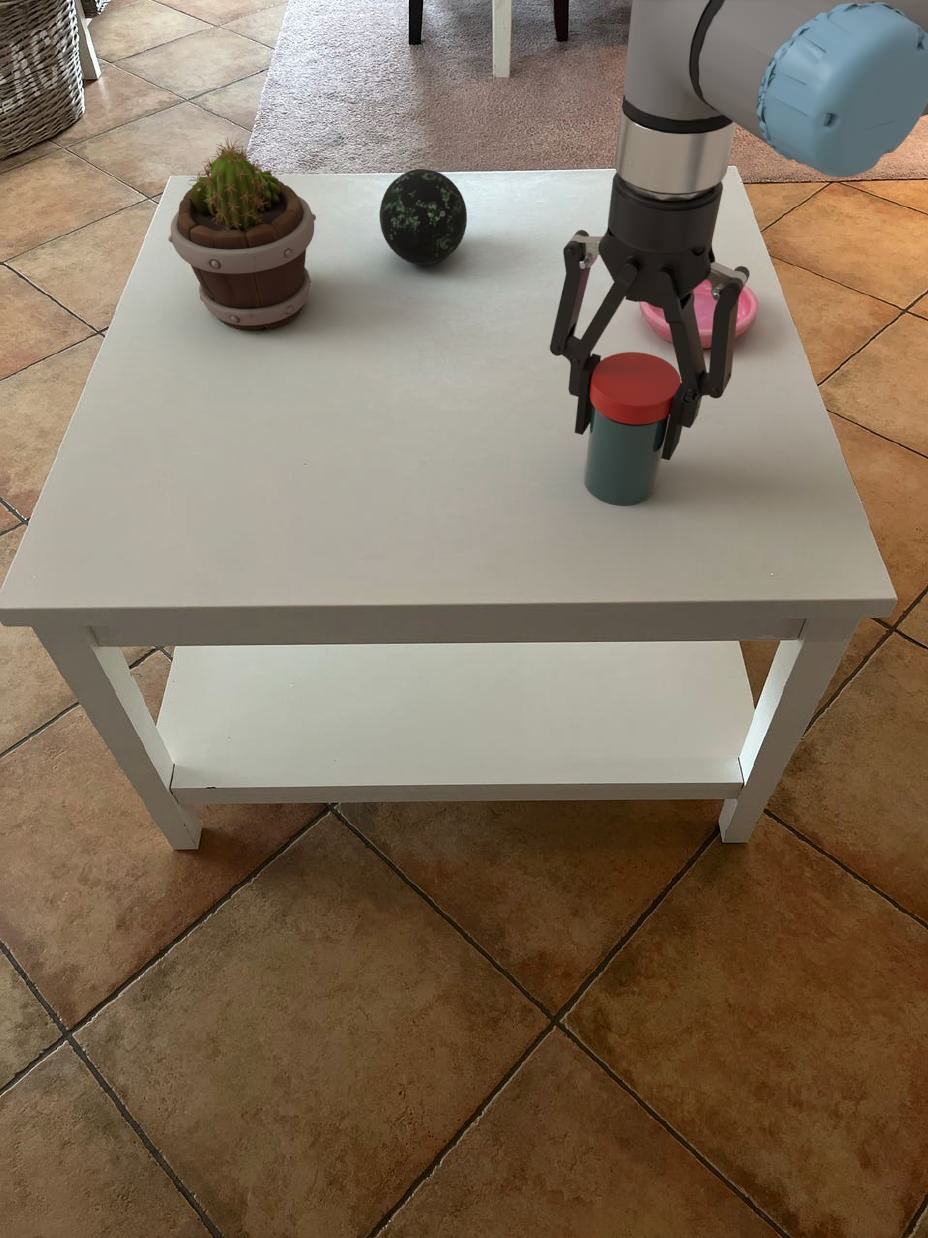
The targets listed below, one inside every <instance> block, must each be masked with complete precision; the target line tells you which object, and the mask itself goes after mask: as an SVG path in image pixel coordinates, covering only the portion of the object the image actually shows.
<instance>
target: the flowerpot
mask: <svg viewBox="0 0 928 1238" xmlns="http://www.w3.org/2000/svg"><path fill="white" fill-rule="evenodd" d="M229 140H230V143H229ZM224 141H225V142H224V145H225V146H223V145H222V143H220V144H217V143H216V145H217V146H215V149H217V150H216V153H214V156H212V159H211V161H210V160H209V159H208V158H207V157H206V160H202V162H203V163H202V165H203V168H204V169H203V170H204V172H205V173H204V172H203V170H202V171H198V174H197V176H196V177H197V178H196V177H193V176H191V178H193V179H189V180H188V181H187V183H188V185H190V186H192V187H191V188H190V189H189V190H187V192H186V193H185V194H184V195H183V197H182V200H181V201H180V202H179V205H178V211H177V212H176V213H175V214H174V216H173V218H172V220H171V223H170V235H169V236H168V242H169V243H171V244H172V245H173V246H172V247H173V248H174V249H175V252H176V253H177V254H178V256H179V257H180V258H181V259H182V260H184V261H185V263H187V264H189V265H190V267H191V269H192V272H193V274H194V275H195V277H196V279H197V281H198V282H199V287H198V291H199V300H200V301H201V302H203V304H204V306H205V308H206V309H207V310H208V311H209V312H210V313H211V315H213V316H214V317H215V318H217V320H219V322H222V323H223V324H224V325H226V326H228V327H231V328H234V329H236V330H237V329H238V330H246V331H256V330H263V329H264V328H265V329H268V330H271V329H274V328H278V327H281V326H284V325H286V324H289V322H292V321H293V320H294V319H295V318H296V317H297V316H298V315H299V314H300V312H301V311H303V309H304V305H305V303H306V301H307V300H308V297H309V293H310V286H311V283H312V279H311V276H310V273H309V271H308V269H307V268H306V267H305V266H306V257H307V248H308V247H309V245H310V244H311V242H312V240H313V237H314V235H315V221H316V219H317V216H316V214H314V213H313V212H312V209H311V207H310V205H309V203H308V202H307V201H306V200H305V199H303V198H302V197H300V196H299V195H298V194H297V192H295V191H294V190H293V189H292V187H290V186H288V185H287V184H284V182H283V181H281V180H279V178H277V176H276V172H277V171H274V175H272V172H271V170H272V168H273V170H275V168H274V167H270V169H267V170H265V171H263V170H261V169H262V168H263V167H264V164H261V163H259V159H255V158H254V157H252V159H253V160H251V161H250V159H251V157H250V156H252V154H249V151H247V148H245V149H243V148H244V146H243V145H239V146H238V144H236V143H238V141H239V138H238V139H236V140H235V141H234V143H232V141H231V139H229V138H228V137H227V138H224ZM220 147H221V148H220ZM248 154H249V155H248ZM213 159H214V160H213ZM204 163H205V164H204ZM202 172H203V173H202ZM200 173H202V174H200ZM191 181H192V182H193V181H194V182H195V183H194V184H191V183H189V182H191Z"/></svg>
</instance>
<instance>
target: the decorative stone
mask: <svg viewBox="0 0 928 1238" xmlns="http://www.w3.org/2000/svg"><path fill="white" fill-rule="evenodd" d="M467 222H468V213H467V205H466V202H465V199H464V196H463V195H462V193H461V191H460V190H459V188H458V187H457V185H456V184H455V183H454V182H453V181H452V180H451V179H450V178H449V177H447V176H446V175H445V174H443V173H441V172H439V171H435V170H433V169H427V168H415V169H412V170H409V171H407V172H404V173H402V174H401V175H400V176H398V177H397V178H396V179H394V180H393V181H392V182H391V183H390V184H389V186H388V187H387V188H386V190H385V192H384V194H383V197H382V199H381V203H380V208H379V225H380V229H381V233H382V235H383V239H384V240H385V242H386V243H387V246H389V248H390V249H391V250H392V252H394V254H395V255H397V256H398V257H400V259H403V260H405V262H409V263H412V264H417V265H424V266H425V265H426V266H427V265H428V266H429V265H433V264H436V263H440V262H442V261H444V260H445V259H447V258H448V257H449V256H451V255H452V254H453V253H454V252H455V251H456V250H457V248H458V247H459V246H460V244H461V243H462V242H463V241H462V240H463V239H464V236H465V233H466V229H467V224H468V223H467Z"/></svg>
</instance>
